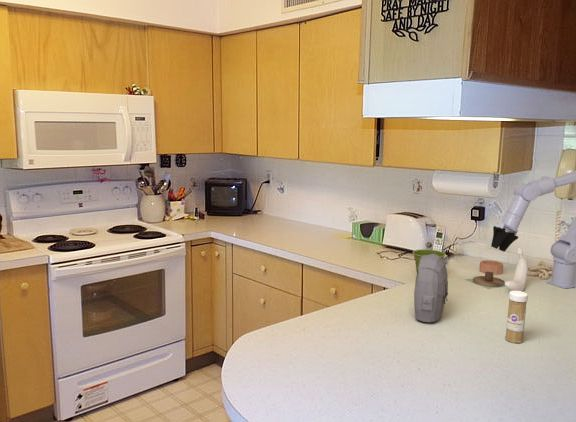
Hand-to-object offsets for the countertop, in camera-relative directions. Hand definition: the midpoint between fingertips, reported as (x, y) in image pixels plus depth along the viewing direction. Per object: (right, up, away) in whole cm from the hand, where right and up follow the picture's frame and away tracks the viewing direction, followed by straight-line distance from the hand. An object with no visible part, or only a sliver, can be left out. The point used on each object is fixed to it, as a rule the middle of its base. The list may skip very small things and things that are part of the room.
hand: (497, 249), depth 186 cm
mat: (-2, -13, +5) cm, 14 cm away
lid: (-2, -13, +5) cm, 14 cm away
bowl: (+5, -11, +19) cm, 23 cm away
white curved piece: (+5, -15, -4) cm, 16 cm away
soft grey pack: (-33, -19, -32) cm, 50 cm away
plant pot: (-24, -13, +5) cm, 28 cm away
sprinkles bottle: (-15, -21, -47) cm, 54 cm away
